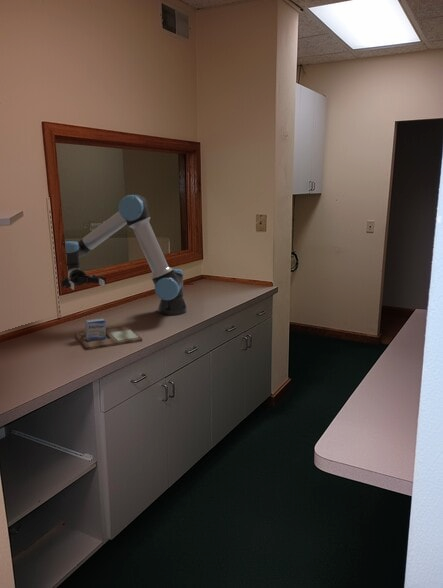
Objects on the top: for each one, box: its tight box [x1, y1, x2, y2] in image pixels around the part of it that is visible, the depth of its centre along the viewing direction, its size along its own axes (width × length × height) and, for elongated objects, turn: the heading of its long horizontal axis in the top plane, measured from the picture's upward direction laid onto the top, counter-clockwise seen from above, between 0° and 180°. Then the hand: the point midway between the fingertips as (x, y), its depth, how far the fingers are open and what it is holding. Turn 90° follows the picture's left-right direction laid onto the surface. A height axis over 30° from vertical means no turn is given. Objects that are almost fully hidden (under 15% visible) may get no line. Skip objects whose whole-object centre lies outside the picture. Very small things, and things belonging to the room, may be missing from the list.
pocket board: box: [75, 326, 143, 351], centre depth 207 cm, size 24×20×1 cm
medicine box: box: [84, 318, 107, 342], centre depth 205 cm, size 8×4×9 cm, turn 118°
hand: (88, 285), depth 209 cm, fingers open, 13 cm apart
